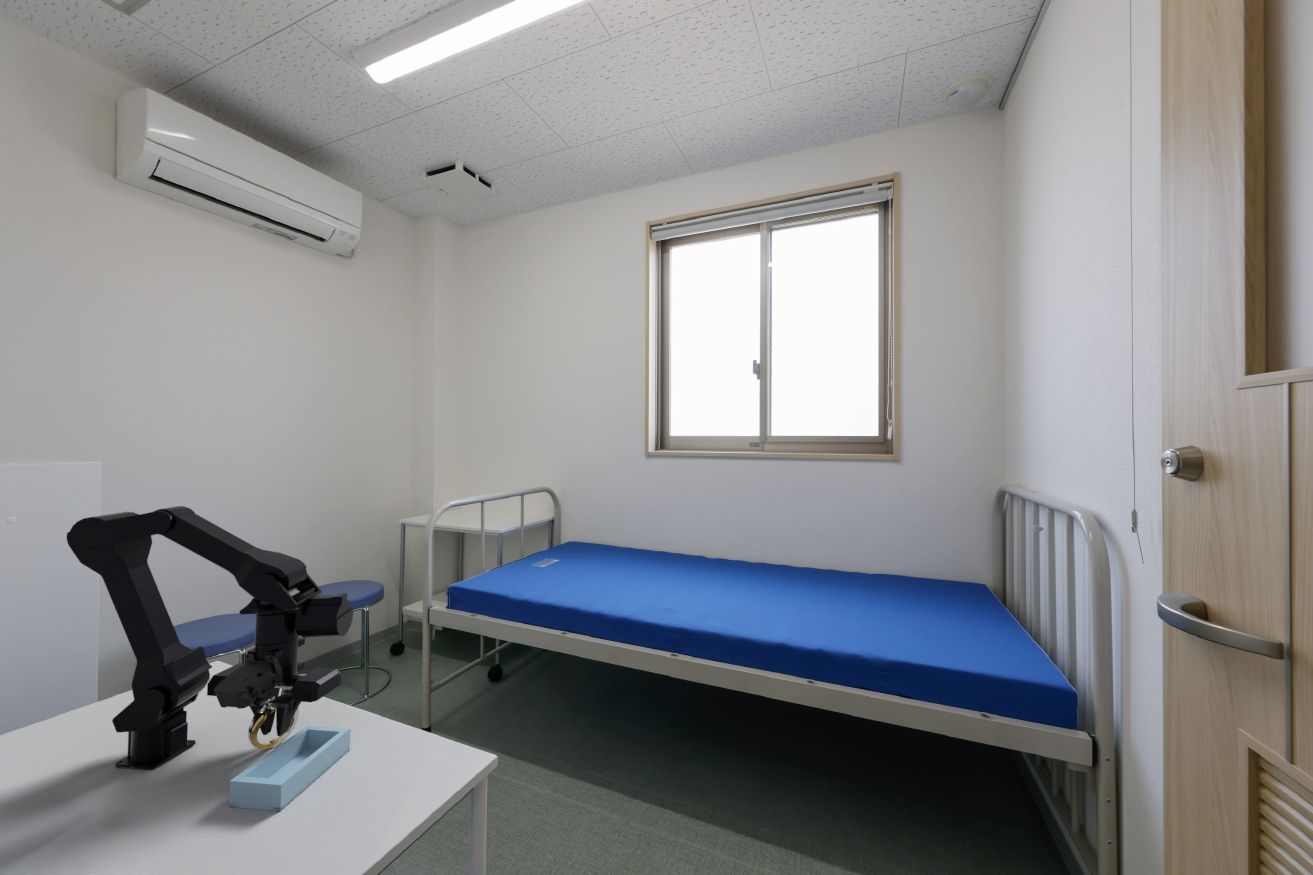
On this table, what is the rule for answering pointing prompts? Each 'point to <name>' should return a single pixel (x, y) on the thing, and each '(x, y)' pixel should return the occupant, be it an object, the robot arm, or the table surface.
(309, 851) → the table surface
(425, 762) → the table surface
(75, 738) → the table surface
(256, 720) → the ring
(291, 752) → the box
